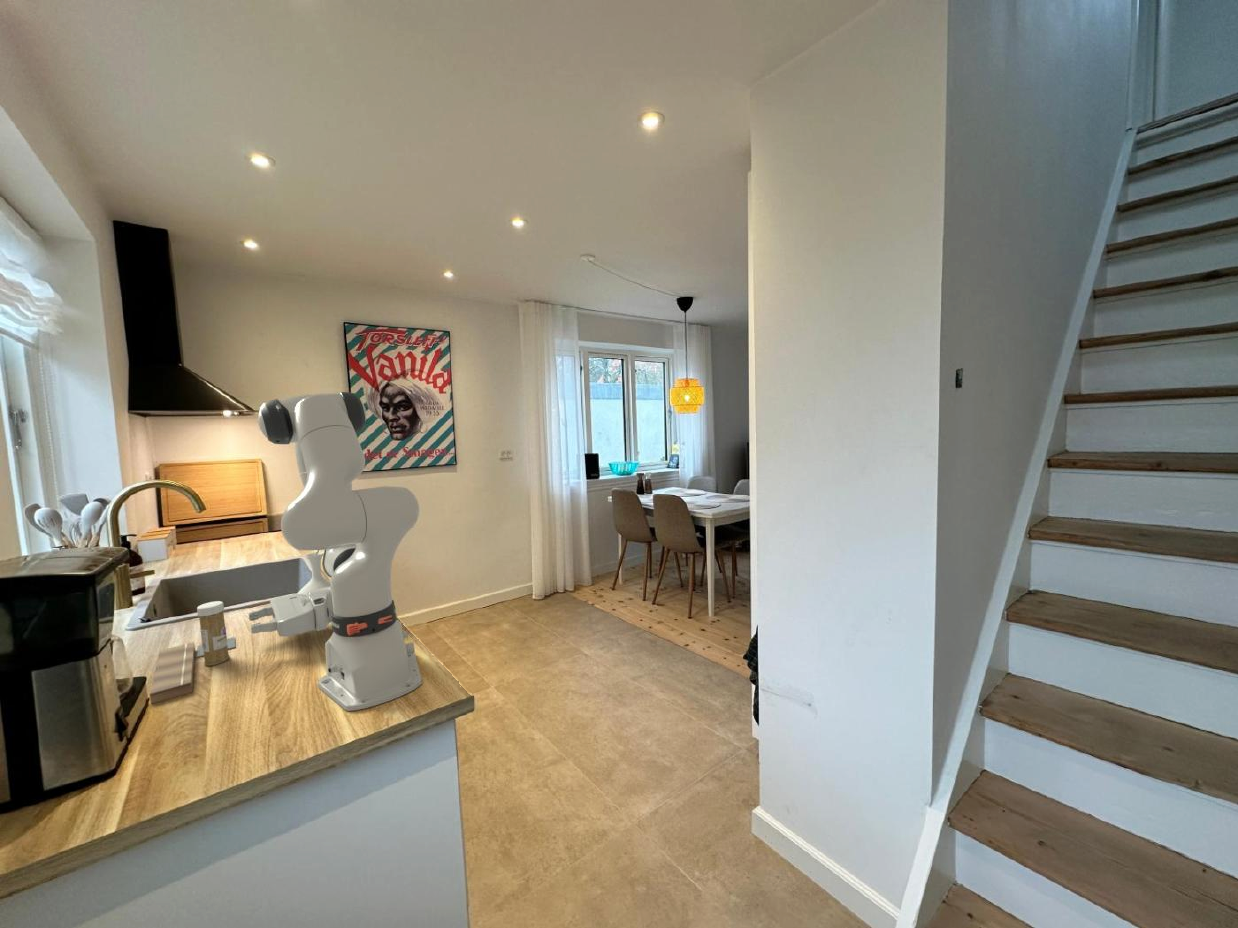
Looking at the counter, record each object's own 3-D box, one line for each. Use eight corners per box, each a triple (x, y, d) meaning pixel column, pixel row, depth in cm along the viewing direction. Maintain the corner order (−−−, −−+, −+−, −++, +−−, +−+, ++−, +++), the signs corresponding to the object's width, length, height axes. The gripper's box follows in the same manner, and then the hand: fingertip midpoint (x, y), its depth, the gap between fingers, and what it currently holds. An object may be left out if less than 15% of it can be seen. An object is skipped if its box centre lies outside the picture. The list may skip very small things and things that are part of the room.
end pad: (235, 647, 117) (235, 646, 117) (197, 657, 113) (197, 656, 113) (234, 638, 123) (234, 636, 123) (197, 647, 118) (197, 646, 118)
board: (192, 691, 98) (190, 681, 98) (151, 703, 95) (149, 693, 94) (195, 650, 117) (194, 641, 117) (160, 658, 113) (159, 649, 113)
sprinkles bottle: (228, 662, 110) (221, 604, 109) (202, 668, 108) (195, 609, 106) (230, 654, 114) (224, 598, 113) (205, 660, 112) (198, 603, 110)
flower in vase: (287, 605, 144) (279, 522, 141) (312, 591, 155) (305, 514, 152) (331, 604, 143) (323, 521, 141) (353, 590, 154) (346, 512, 152)
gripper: (310, 584, 131) (246, 598, 122) (324, 606, 115) (251, 623, 106) (313, 607, 131) (249, 622, 123) (326, 631, 116) (254, 651, 107)
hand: (250, 623), depth 114 cm, fingers open, 8 cm apart
